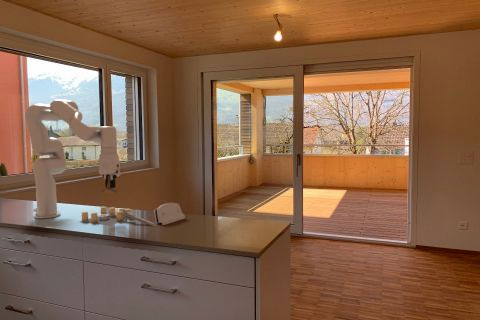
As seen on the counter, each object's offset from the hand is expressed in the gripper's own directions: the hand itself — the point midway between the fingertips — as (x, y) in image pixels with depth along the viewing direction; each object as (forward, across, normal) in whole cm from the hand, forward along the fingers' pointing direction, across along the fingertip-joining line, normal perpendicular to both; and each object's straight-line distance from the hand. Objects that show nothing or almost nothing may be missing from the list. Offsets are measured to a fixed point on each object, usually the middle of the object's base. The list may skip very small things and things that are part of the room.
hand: (110, 187), depth 181 cm
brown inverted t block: (+3, 0, -1) cm, 3 cm away
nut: (+17, -5, 0) cm, 18 cm away
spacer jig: (+17, -3, 0) cm, 18 cm away
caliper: (+18, +16, 0) cm, 24 cm away
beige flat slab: (+18, +27, +11) cm, 34 cm away
